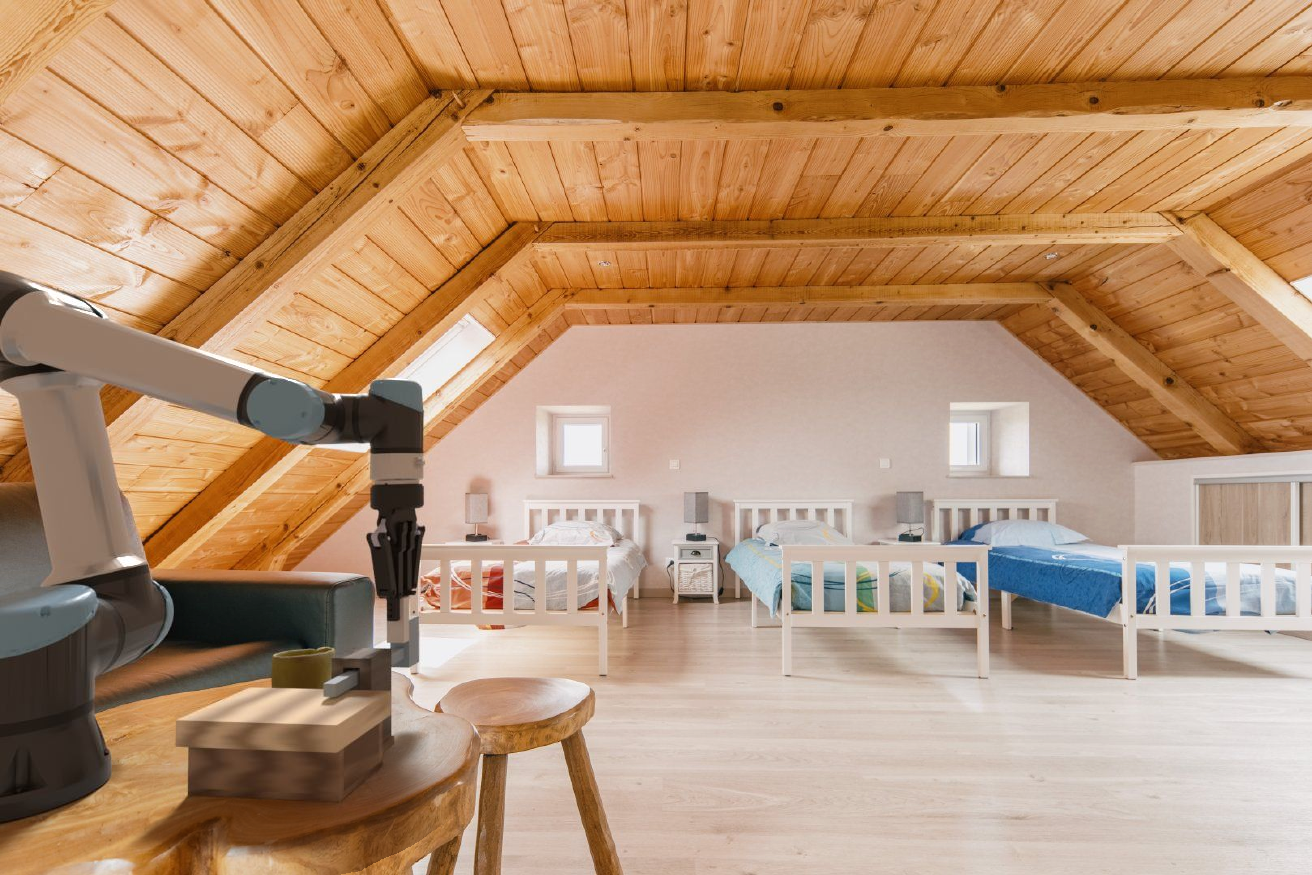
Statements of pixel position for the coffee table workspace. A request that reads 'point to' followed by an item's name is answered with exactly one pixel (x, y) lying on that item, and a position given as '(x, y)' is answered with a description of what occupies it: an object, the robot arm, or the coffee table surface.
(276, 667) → the mug
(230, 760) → the toolbox
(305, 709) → the lid
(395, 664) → the sliding bolt
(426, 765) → the coffee table surface
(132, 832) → the coffee table surface
